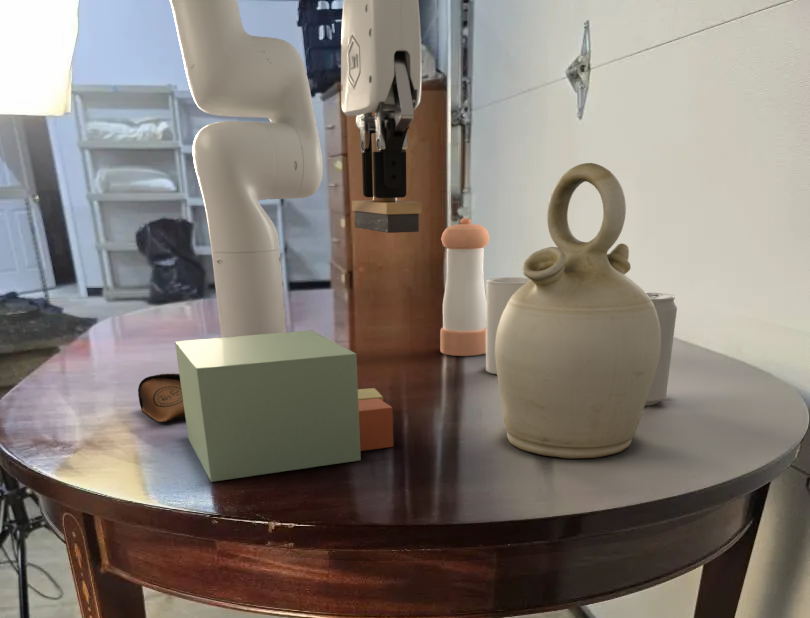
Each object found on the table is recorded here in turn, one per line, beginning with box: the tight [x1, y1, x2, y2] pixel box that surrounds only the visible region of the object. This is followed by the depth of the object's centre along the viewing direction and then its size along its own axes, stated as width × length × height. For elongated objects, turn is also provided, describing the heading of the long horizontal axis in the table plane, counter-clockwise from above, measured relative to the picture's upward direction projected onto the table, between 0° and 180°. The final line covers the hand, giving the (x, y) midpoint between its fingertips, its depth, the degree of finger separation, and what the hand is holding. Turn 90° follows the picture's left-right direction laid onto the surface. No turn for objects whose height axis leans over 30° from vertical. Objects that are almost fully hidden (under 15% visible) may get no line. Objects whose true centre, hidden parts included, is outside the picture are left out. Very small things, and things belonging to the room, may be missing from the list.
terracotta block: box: [358, 398, 394, 452], centre depth 77 cm, size 4×4×4 cm
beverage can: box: [644, 292, 678, 407], centre depth 89 cm, size 6×6×12 cm
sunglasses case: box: [137, 372, 186, 423], centre depth 92 cm, size 18×7×7 cm
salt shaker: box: [439, 217, 491, 357], centre depth 116 cm, size 7×7×19 cm
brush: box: [351, 133, 423, 234], centre depth 76 cm, size 10×4×9 cm, turn 23°
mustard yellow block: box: [358, 387, 384, 402], centre depth 81 cm, size 4×4×4 cm
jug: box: [495, 162, 661, 460], centre depth 72 cm, size 15×16×25 cm
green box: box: [174, 329, 362, 483], centre depth 75 cm, size 16×14×10 cm
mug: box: [485, 276, 531, 375], centre depth 105 cm, size 10×7×12 cm, turn 119°
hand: (384, 195), depth 77 cm, fingers closed on brush, 2 cm apart
